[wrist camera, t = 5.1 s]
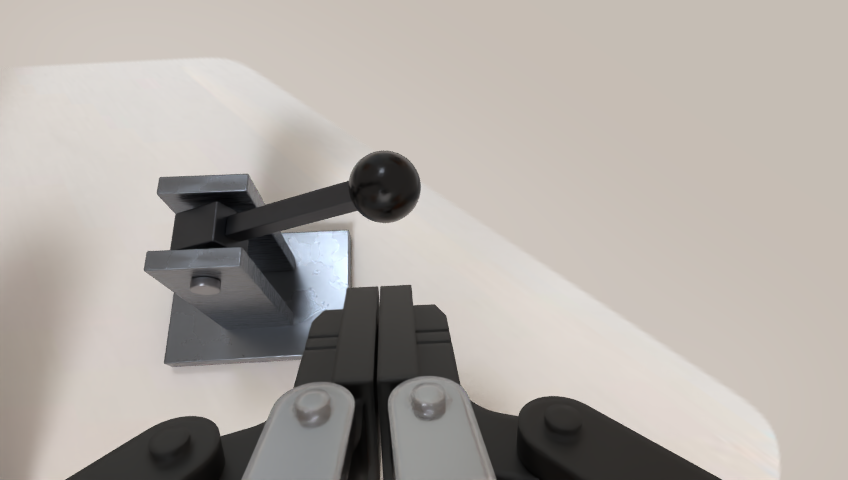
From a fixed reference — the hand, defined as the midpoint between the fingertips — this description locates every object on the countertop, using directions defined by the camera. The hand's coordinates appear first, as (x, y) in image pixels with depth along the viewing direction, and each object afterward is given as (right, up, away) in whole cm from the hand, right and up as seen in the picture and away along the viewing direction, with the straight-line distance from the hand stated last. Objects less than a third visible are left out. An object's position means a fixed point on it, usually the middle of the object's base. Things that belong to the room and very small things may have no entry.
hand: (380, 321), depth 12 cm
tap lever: (-5, +3, +14) cm, 15 cm away
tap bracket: (-10, -2, +24) cm, 26 cm away
